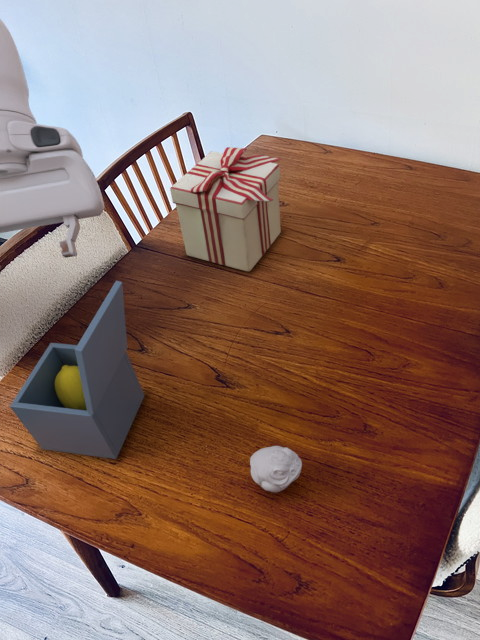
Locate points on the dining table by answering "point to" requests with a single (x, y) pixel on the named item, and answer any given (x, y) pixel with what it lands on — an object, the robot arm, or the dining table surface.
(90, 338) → the chest lid
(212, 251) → the gift box
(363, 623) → the dining table surface
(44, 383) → the chest
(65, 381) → the lemon
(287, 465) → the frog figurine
